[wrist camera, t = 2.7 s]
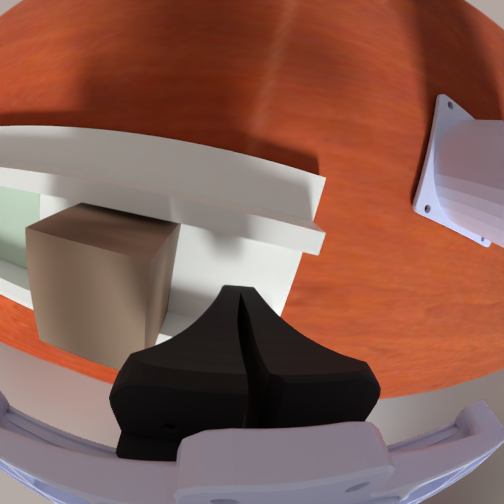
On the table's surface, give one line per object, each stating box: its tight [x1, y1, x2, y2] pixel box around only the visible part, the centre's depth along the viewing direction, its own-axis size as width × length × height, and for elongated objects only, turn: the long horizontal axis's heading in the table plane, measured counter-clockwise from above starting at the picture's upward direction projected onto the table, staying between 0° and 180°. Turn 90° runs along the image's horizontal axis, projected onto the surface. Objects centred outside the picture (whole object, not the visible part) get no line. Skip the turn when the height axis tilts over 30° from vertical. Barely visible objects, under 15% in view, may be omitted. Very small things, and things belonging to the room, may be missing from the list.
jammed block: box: [25, 202, 181, 370], centre depth 10 cm, size 5×5×5 cm
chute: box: [0, 126, 326, 345], centre depth 11 cm, size 22×12×4 cm, turn 75°
